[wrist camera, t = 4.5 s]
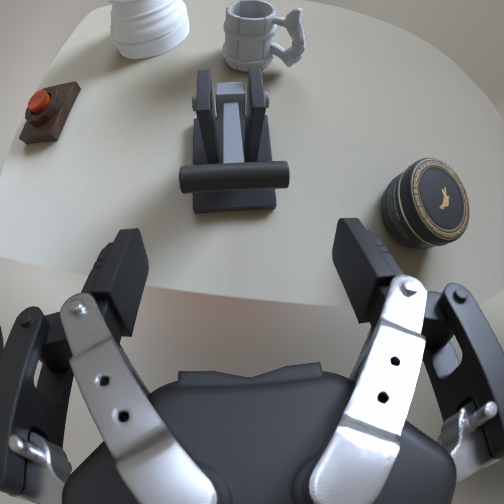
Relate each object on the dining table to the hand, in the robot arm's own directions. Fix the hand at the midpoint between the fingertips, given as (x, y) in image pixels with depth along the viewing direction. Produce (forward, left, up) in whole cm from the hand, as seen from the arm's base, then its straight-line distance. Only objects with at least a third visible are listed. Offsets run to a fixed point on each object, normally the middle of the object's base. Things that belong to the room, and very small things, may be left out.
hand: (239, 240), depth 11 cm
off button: (-14, +37, -16) cm, 42 cm away
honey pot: (+7, +42, -19) cm, 46 cm away
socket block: (-14, +37, -19) cm, 44 cm away
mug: (+18, +25, -19) cm, 36 cm away
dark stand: (+6, +11, -19) cm, 23 cm away
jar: (+22, -5, -19) cm, 30 cm away
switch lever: (+4, +7, -6) cm, 10 cm away
